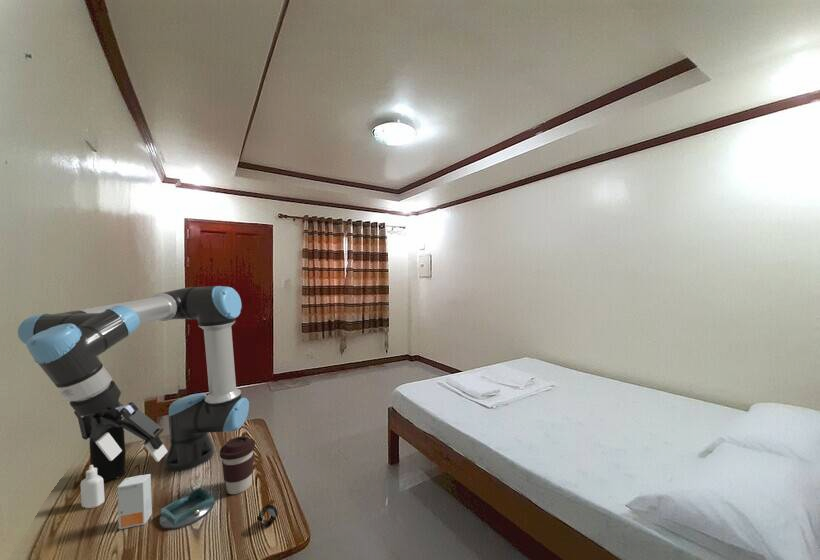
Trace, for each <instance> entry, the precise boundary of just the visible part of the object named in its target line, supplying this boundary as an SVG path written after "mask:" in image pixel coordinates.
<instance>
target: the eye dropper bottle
mask: <svg viewBox="0 0 820 560" xmlns="http://www.w3.org/2000/svg"><path fill="white" fill-rule="evenodd" d="M104 482H105V481H103V478H102V477H101V476H99V475H97V468H94V467H93V465H91V464H90V465H89V468H88V469H87V470H86V471H85V478H84V479H82V480H81V481H80V501H81V503H80V505H81V507H82V508H84V507H85V508H84V509H93V508H97V507H100V506H101V505H102V504H104V503H105V484H104Z"/></svg>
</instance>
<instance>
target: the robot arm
mask: <svg viewBox="0 0 820 560" xmlns="http://www.w3.org/2000/svg"><path fill="white" fill-rule="evenodd" d="M242 307H243V306H242V300H241V297H240V294H239V293H238V291H236V289H234V288H233V287H230V286H222V285H215V286H214V285H213V286H197V287H196V286H190V287H182V288H179V289H174V290H169V291H165V292H160V293H156V294H153V295H152V297H147V298H142V299H136V300H130V301H129V300H128V301H123V302H118V303H111V304H107V305H106V304H105V305H101V306H95V307H94V306H93V307H89V308H82V309H77V310H71V311H65V312H58V313H43V314H34V315H30V316H29V317H26V318H25V319H24V320H23V321H21V322H20V324H19V325H18V329H17V336H18V339H19V340H20V341H21V342H22V343H23V344H25V345H26V348H27V350H28V352H29V354H30V355H31V356H32V358H33V359H34V360H33V361H35V364H37V365H39V366H40V367H39V368H41V369H42V371H43V372H44V373H45V374H46V375H47V377H48V378H49V379H50V381H51V382H52V383H53V384H54V385H55V387H57V389H58V390H59V392H60V394H59V395H60V396H61V397H64V398H65V399H66V401H68V402H69V405H70V407H71V408H73V410H74V412H73V413H74V415H75V416H76V418H77V421H78V425H79V429H80V433H81V434H80V435H81V438H82V440H85V441H86V440H88V439H89V441H90V440H91V441H93V442H94V441H95V443H96V444H97V445H98V447H99V448H100V449H101V450H102V452H103V453H104V454H105V456H106V457H107V458H108V459H109V461H112V460H113V459H114V458H115V457H116V456H117V455H118V454H119V453H120V452H122V450H121V448H120V447H119V446H118V444H117V443H116V442H115V440H114V439H113V438H112V436H111V435H110V434H109V433H105V432H106V431H107V430H106V425H107V424H111V425H114V426H116V427H118V428H119V427H123V428H124V429H125V431H126V430H127V431H128V432H129V433H131V434H133V435H135V436H136V437H138V438H140V439H142V440H143V442H142V445H144V446H145V448H146V450H147V451H148V453H149V454H150V455H151V456H152V458H153V459H154V460H155V461H154V462H156V463H157V462H158V463H159V462H160V461H161V459H162V458H164V457H165V458H164V468H165V469H166V470H168V471H170V472H179V471H185V470H189V469H192V468H195V467H197V466H200V465H202V464H204V463H205V462H207V461H209V460H210V459H211V458H212V457H213V456H214V454H215V445H214V444H213V441H212V439H211V437H210V435H209V433H224V434H225V433H233V432H236V431H238V430H239V429H241V427H243V425H244V423H245V422H246V420H247V417H248V415H249V410H250V401H249V400H248V399H247V398H246V397H242V390H241V389H239V388H237V382H236V371H235V370H236V369H235V357H234V346H233V345H234V342H233V331H232V329H233V328H232V326H233V325H234V324H235V323H236V318H238V317H239V316H240V314H241V313H242V312H241V310H242V309H243V308H242ZM171 320H197V325H198V327H199V328H201V329H202V330H203V339H204V347H205V348H204V349H205V358H206V370H207V383H208V394H206V393H205V392H200V393H198V392H197V393H193V394H190V395H187V396H184V397H181V398H177V399H176V400H174V401H173V402H172V403H170V405H169V407H168V416H167V417H168V429H169V447H168V449H167V448H166V446H165V445H164V443H163V441H162V440H161V437H160V436H159V435H161V433H163V432H164V428H162V426H160V425H159V424H158V423H156V422H155V421H154V420H153V419H151V418H150V417H149V416H148V415H147V414H145V413H144V412H143V411H142V410H141V409H139V408H138V407H137V406H136V404H135V403H134V402H131V401H129V403H127V405H123V404H122V403H121V402H120V401H119V400H120V396H121V393H122V391H121V390H120V388H119V387H118V385H117V384H116V382H115V380H113V378H112V376H111V375H110V373H109V371H108V370H107V368H105V366H104V365H103V363H102V362H101V359H100V358H99V356H100V355H101V354H103V353H104V352H106V351H107V350H109V349H110V348H112V347H113V346H115V345H116V344H118V343H119V342H121V341H123V340H124V339H126V338H128V337H129V336H130V335H131V334H132V333H134V332H135V331H136V330H137V329H138V328H139V326H140V325H143V324H147V323H151V322H155V321H158V322H160V321H161V322H166V321H171ZM121 419H122V420H121ZM120 420H121V421H120ZM119 421H120V422H119ZM104 433H105V434H104ZM103 434H104V435H103Z"/></svg>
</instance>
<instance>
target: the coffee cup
mask: <svg viewBox="0 0 820 560" xmlns="http://www.w3.org/2000/svg"><path fill="white" fill-rule="evenodd" d="M255 448H256V441H255V440H254V439H252V438H250V437H249V436H246V435H242V436H241V435H240V436H237V437H233V438H231V439H229V440H228V441H226V443H225V444H224V445H223V446H222V447H221V448H220V450H219V457H220V458H221V459H222V460H221V461H222V462H221V464H222V473H223V480H224V482H225V491H226V493H227V494H230V495H239V494H241V493H243V492H246V491H248V489H249V488H250V487H251V486H252V483H253V473H254V456H255V453H254V450H255Z"/></svg>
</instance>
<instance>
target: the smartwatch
mask: <svg viewBox="0 0 820 560" xmlns="http://www.w3.org/2000/svg"><path fill="white" fill-rule="evenodd" d="M266 512H268V514H269V516H270V518H269V519H268V521H267V522H266V523H265V524H264V522H263V519H264V516H265V514H266ZM278 514H279V512H278V509H277V507H275V505H273V504H269V503H268V504H266V505H265V506H264V507H263V508H262V509H261V511H260V512H259V513H258V515H257V517H256V518H257V520H256V521H258V522H259V524H261V525H262V526H263V527H265V528H269V527H271V525H272V524H273V523H274V522H275V521H276V519H277V517H278Z"/></svg>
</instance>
